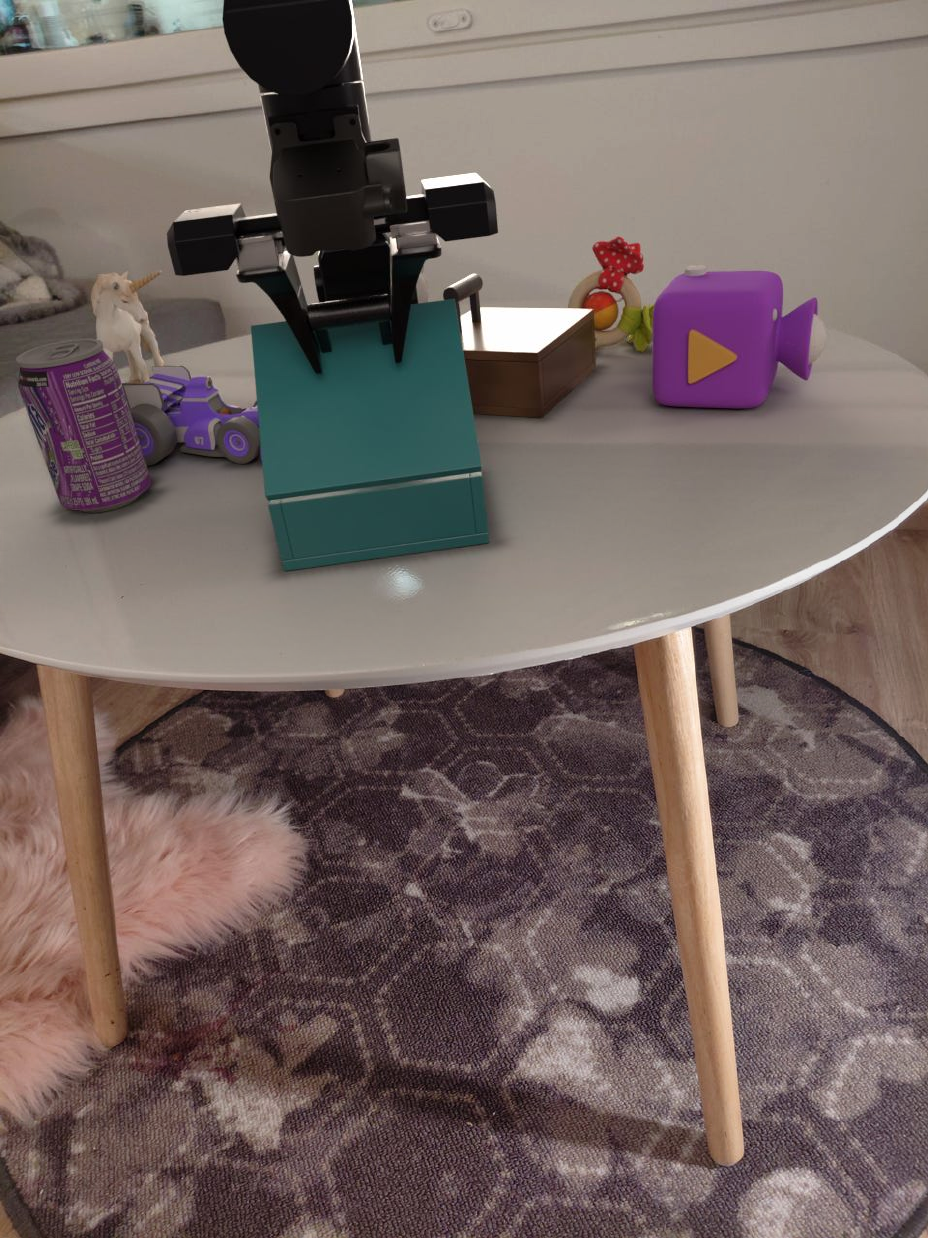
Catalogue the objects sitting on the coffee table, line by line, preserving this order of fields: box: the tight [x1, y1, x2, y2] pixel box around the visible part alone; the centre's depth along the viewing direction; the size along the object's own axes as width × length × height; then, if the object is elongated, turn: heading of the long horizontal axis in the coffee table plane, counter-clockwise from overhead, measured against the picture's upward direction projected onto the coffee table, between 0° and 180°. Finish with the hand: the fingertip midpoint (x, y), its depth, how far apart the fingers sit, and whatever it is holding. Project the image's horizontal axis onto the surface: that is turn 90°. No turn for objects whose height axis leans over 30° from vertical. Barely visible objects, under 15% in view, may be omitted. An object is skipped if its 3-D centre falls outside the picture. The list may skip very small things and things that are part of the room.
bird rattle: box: [567, 236, 655, 353], centre depth 92 cm, size 6×11×9 cm
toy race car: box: [121, 365, 262, 467], centre depth 81 cm, size 10×15×6 cm, turn 72°
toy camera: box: [651, 264, 827, 409], centre depth 78 cm, size 11×14×10 cm
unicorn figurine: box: [90, 269, 166, 383], centre depth 95 cm, size 7×20×13 cm, turn 26°
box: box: [465, 318, 597, 419], centre depth 87 cm, size 12×14×5 cm
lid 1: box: [250, 294, 483, 502], centre depth 59 cm, size 12×14×5 cm
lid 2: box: [442, 273, 594, 362], centre depth 84 cm, size 12×14×5 cm
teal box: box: [267, 471, 490, 572], centre depth 65 cm, size 12×14×5 cm
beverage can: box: [15, 338, 152, 514], centre depth 72 cm, size 7×7×12 cm
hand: (358, 367), depth 60 cm, fingers closed on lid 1, 5 cm apart
